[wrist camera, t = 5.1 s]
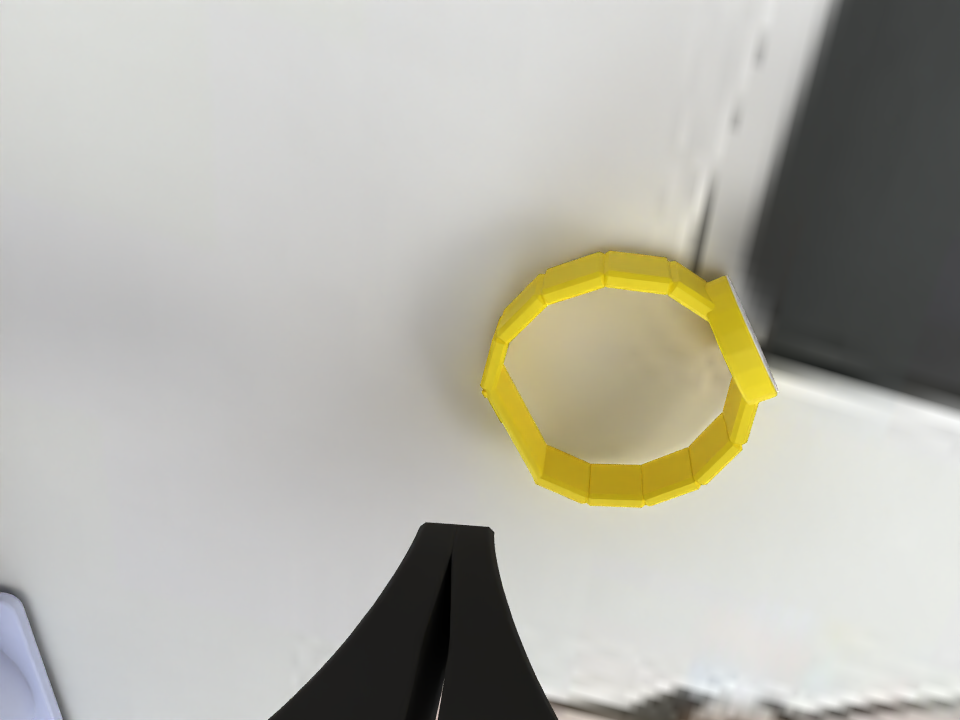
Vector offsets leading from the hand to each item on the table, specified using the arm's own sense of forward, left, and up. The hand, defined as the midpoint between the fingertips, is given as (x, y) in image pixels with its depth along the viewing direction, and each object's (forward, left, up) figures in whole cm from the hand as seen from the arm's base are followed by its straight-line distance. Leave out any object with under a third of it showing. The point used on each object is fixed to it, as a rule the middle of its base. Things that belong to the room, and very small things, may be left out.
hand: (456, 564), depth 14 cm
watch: (+1, 0, -4) cm, 4 cm away
